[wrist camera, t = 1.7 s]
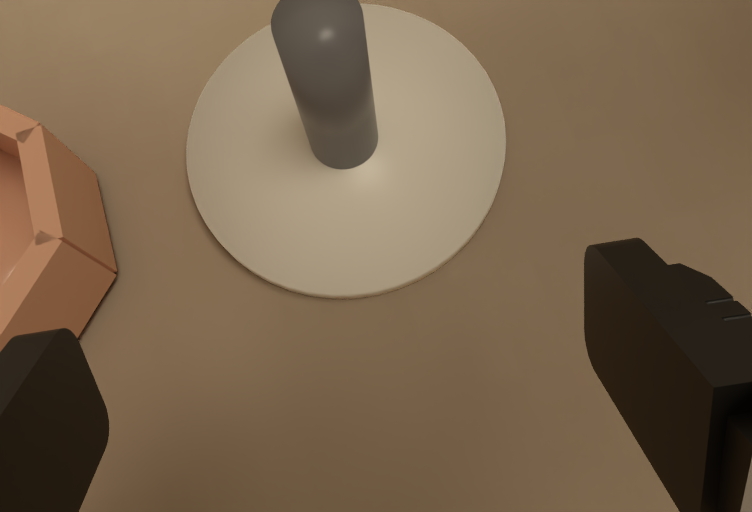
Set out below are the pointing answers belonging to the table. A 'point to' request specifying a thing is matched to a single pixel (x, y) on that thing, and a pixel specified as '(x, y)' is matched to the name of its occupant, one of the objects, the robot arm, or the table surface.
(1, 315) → the bowl
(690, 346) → the robot arm
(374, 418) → the table surface
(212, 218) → the lid
